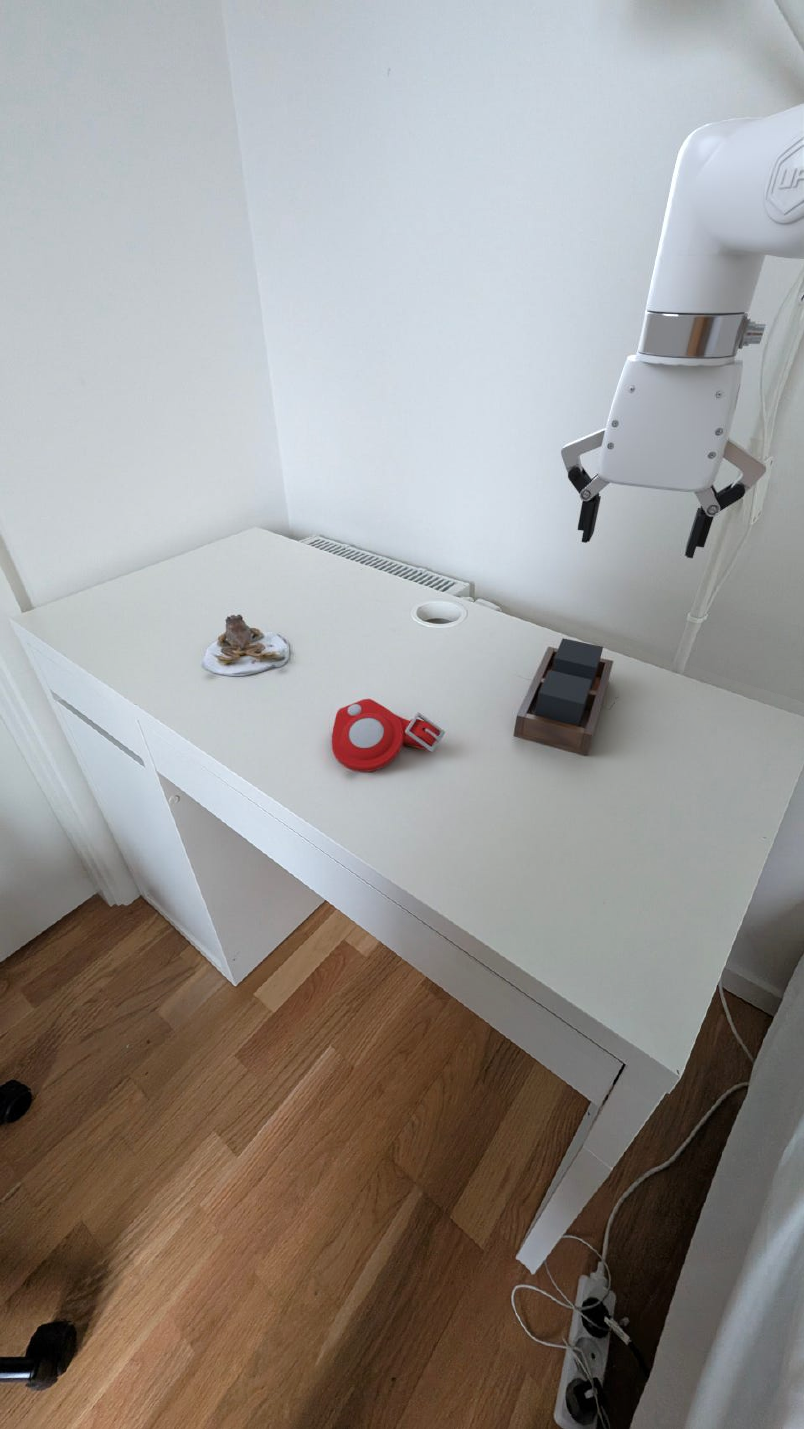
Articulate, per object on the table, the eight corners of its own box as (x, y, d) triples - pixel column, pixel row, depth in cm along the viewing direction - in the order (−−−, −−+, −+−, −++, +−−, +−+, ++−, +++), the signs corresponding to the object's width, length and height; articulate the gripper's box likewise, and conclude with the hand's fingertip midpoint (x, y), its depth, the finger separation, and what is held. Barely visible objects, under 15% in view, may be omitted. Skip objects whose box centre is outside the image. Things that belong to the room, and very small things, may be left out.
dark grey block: (594, 679, 74) (603, 646, 71) (587, 701, 71) (596, 667, 68) (555, 670, 76) (562, 638, 73) (547, 691, 72) (554, 657, 69)
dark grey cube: (583, 713, 69) (592, 679, 66) (575, 739, 66) (584, 704, 62) (541, 703, 71) (548, 669, 68) (532, 727, 67) (538, 692, 64)
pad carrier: (608, 680, 76) (613, 660, 74) (587, 756, 64) (592, 735, 62) (544, 665, 78) (548, 646, 76) (513, 736, 67) (516, 715, 65)
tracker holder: (343, 778, 60) (314, 707, 65) (351, 796, 63) (323, 727, 69) (450, 732, 61) (412, 666, 67) (452, 753, 65) (416, 688, 70)
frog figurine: (192, 643, 82) (186, 620, 80) (274, 624, 86) (270, 601, 84) (210, 686, 74) (204, 661, 72) (299, 662, 78) (296, 638, 76)
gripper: (806, 338, 46) (732, 545, 57) (587, 332, 52) (557, 521, 63) (816, 348, 41) (733, 574, 52) (571, 340, 47) (541, 545, 57)
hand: (636, 545), depth 57 cm, fingers open, 9 cm apart
